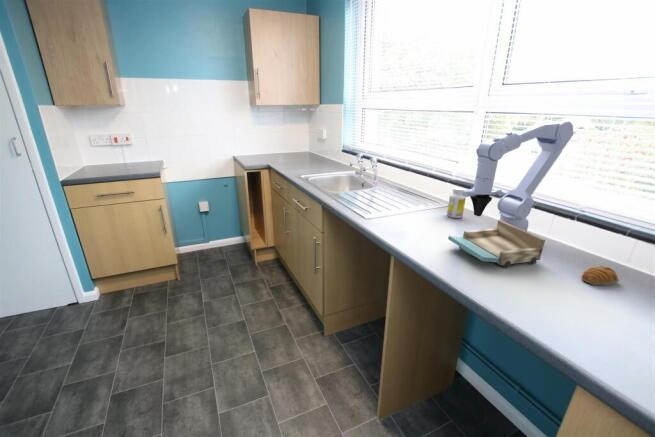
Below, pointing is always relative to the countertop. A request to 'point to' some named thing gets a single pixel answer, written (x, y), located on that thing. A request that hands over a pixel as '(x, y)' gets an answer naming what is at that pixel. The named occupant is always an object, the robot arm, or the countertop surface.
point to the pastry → (600, 276)
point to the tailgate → (473, 249)
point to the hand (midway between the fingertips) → (477, 215)
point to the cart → (508, 243)
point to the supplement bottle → (456, 203)
